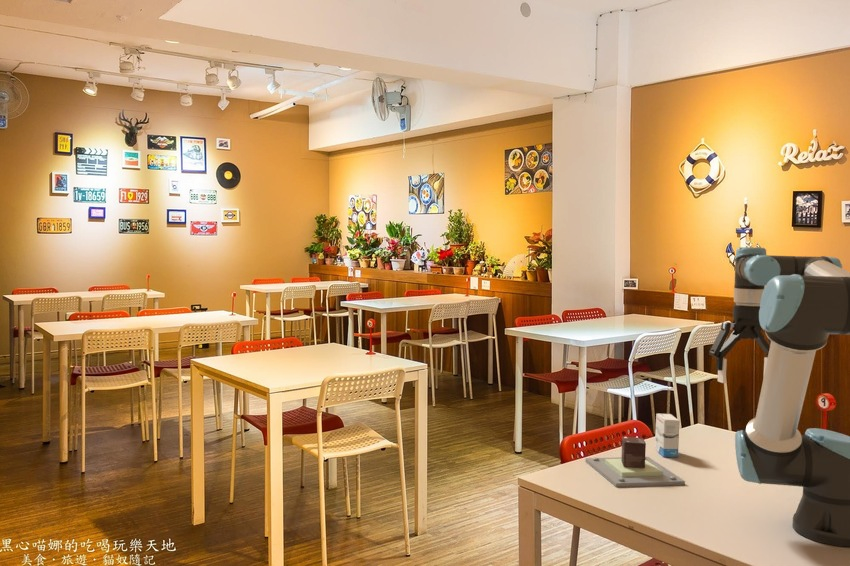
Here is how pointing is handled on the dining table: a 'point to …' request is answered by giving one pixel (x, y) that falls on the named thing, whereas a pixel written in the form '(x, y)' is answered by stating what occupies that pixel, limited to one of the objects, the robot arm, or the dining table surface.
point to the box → (633, 452)
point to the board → (634, 473)
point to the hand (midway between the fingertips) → (744, 382)
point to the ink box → (667, 435)
